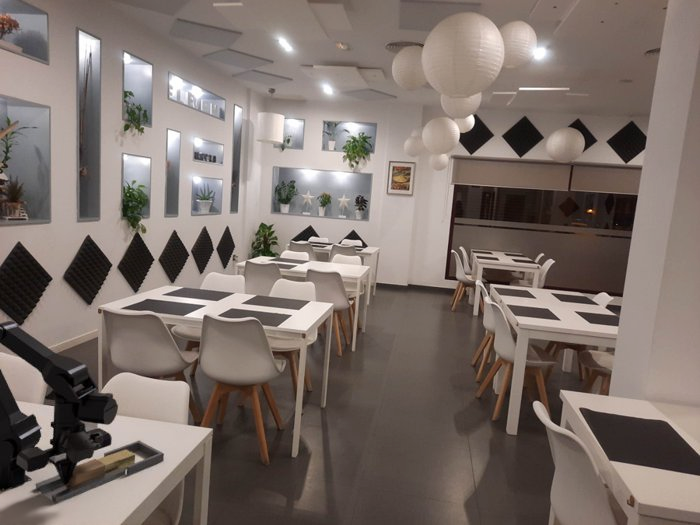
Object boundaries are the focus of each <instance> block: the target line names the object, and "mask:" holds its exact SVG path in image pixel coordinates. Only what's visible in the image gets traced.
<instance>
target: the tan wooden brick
mask: <svg viewBox="0 0 700 525" xmlns="http://www.w3.org/2000/svg"><path fill="white" fill-rule="evenodd" d="M97 459H98V458H97ZM97 459H96V458H94V459H91V460H87V461H86V462H82V463H80V464H77V465H76V467H75V469H74V471H73V473H72V475H71V478H70V480H69V482H68V484H69V485H71V486H72V487H74V486H76V485H79V484H81V483H84V482H86V481H89V480H91V479H94V478H96V477H99V476H101V475H104V474H105V464H103V463H102V462H100V461H98V460H97Z"/></svg>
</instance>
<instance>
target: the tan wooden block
mask: <svg viewBox="0 0 700 525" xmlns="http://www.w3.org/2000/svg"><path fill="white" fill-rule="evenodd" d="M112 455H113V456H115V457H117V458H119V459H120V468H123V469H125V470H127V466H129V465H132V464H134V463H136V453H134V452H130V451H128V450H123V451H120V452H117V453H114V454H112Z"/></svg>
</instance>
